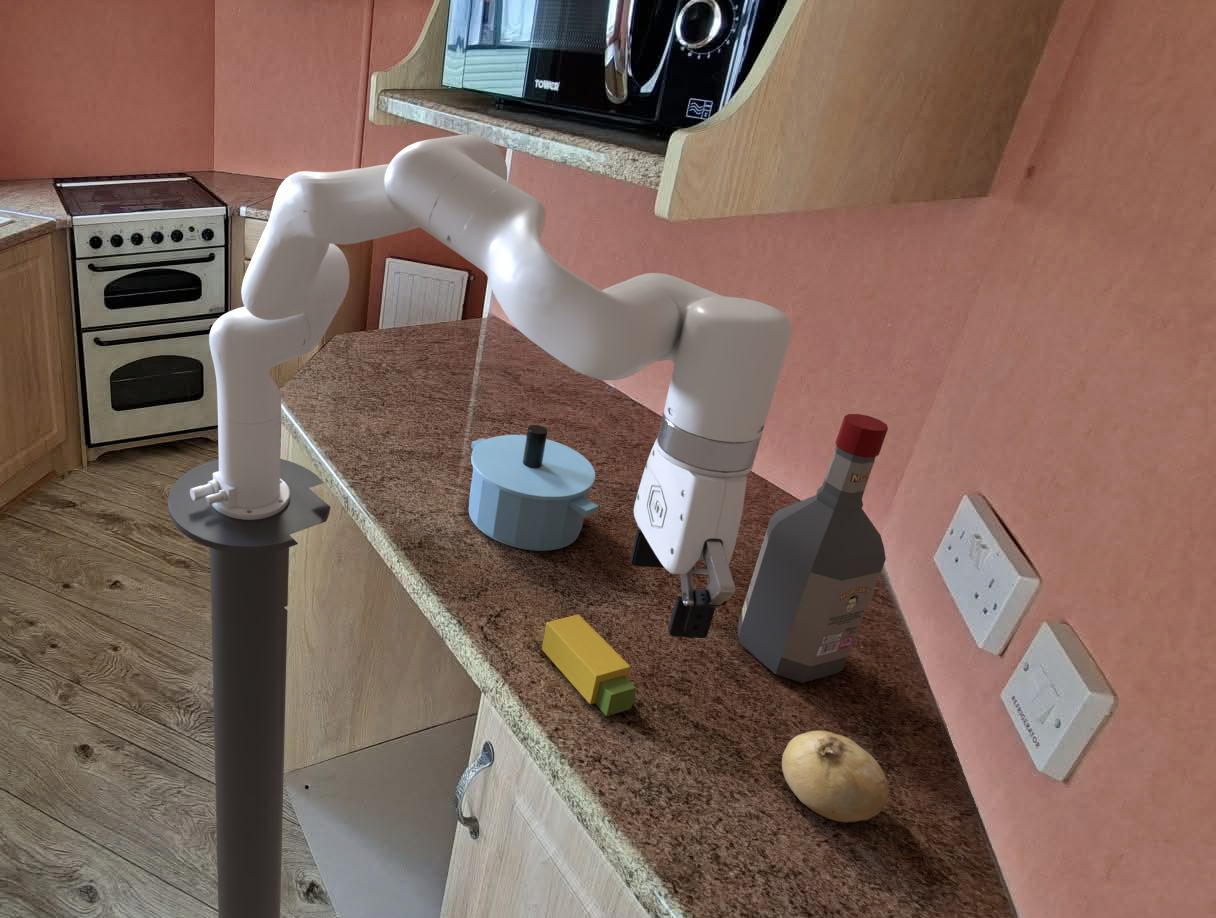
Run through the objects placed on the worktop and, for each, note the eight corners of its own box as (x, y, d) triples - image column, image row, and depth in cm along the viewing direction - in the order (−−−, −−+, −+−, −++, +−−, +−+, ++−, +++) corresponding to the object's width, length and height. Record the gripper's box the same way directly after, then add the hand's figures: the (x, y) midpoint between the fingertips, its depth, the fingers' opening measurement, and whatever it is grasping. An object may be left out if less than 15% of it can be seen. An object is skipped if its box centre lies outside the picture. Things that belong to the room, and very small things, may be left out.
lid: (535, 518, 102) (543, 473, 99) (446, 459, 115) (450, 418, 112) (620, 482, 110) (629, 440, 107) (526, 431, 123) (533, 392, 120)
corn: (636, 707, 84) (643, 679, 82) (601, 718, 83) (608, 689, 81) (573, 640, 93) (578, 613, 91) (541, 649, 91) (546, 622, 90)
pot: (543, 575, 103) (552, 521, 100) (433, 497, 120) (439, 448, 117) (620, 539, 111) (631, 487, 107) (507, 470, 127) (514, 423, 124)
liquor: (853, 672, 89) (946, 437, 77) (789, 690, 86) (875, 450, 74) (783, 617, 97) (857, 397, 85) (723, 632, 94) (790, 407, 82)
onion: (796, 746, 79) (816, 693, 77) (889, 805, 74) (915, 750, 71) (760, 789, 75) (780, 735, 72) (857, 855, 69) (882, 799, 66)
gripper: (627, 394, 76) (596, 540, 83) (705, 494, 61) (659, 664, 67) (708, 397, 76) (670, 544, 83) (807, 499, 60) (750, 670, 67)
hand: (665, 597), depth 75 cm, fingers open, 9 cm apart
